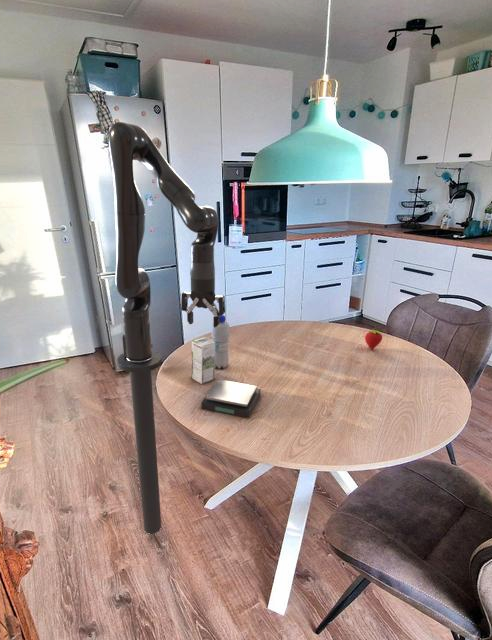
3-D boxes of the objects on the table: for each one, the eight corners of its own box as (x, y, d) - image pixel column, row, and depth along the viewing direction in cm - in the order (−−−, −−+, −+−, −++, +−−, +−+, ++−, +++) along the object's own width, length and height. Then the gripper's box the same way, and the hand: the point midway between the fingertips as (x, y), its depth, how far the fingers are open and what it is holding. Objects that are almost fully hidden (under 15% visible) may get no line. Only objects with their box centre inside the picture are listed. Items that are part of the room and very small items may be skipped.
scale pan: (205, 399, 117) (205, 396, 116) (218, 381, 127) (218, 379, 127) (246, 406, 114) (247, 404, 113) (257, 388, 124) (257, 386, 124)
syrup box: (204, 373, 139) (204, 336, 132) (214, 379, 135) (215, 341, 129) (191, 378, 135) (190, 340, 129) (202, 384, 131) (202, 345, 125)
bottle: (218, 371, 140) (219, 319, 132) (207, 365, 145) (207, 314, 137) (232, 366, 145) (234, 315, 136) (221, 360, 149) (222, 311, 141)
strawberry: (359, 347, 167) (363, 325, 163) (374, 345, 169) (379, 324, 165) (367, 352, 162) (372, 330, 158) (383, 351, 164) (387, 328, 160)
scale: (201, 409, 117) (201, 402, 116) (216, 387, 130) (216, 381, 129) (248, 418, 114) (249, 411, 113) (260, 395, 126) (260, 389, 125)
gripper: (228, 275, 121) (227, 324, 128) (186, 271, 125) (187, 319, 131) (220, 280, 115) (220, 331, 121) (176, 276, 118) (178, 326, 125)
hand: (203, 325), depth 126 cm, fingers open, 8 cm apart
